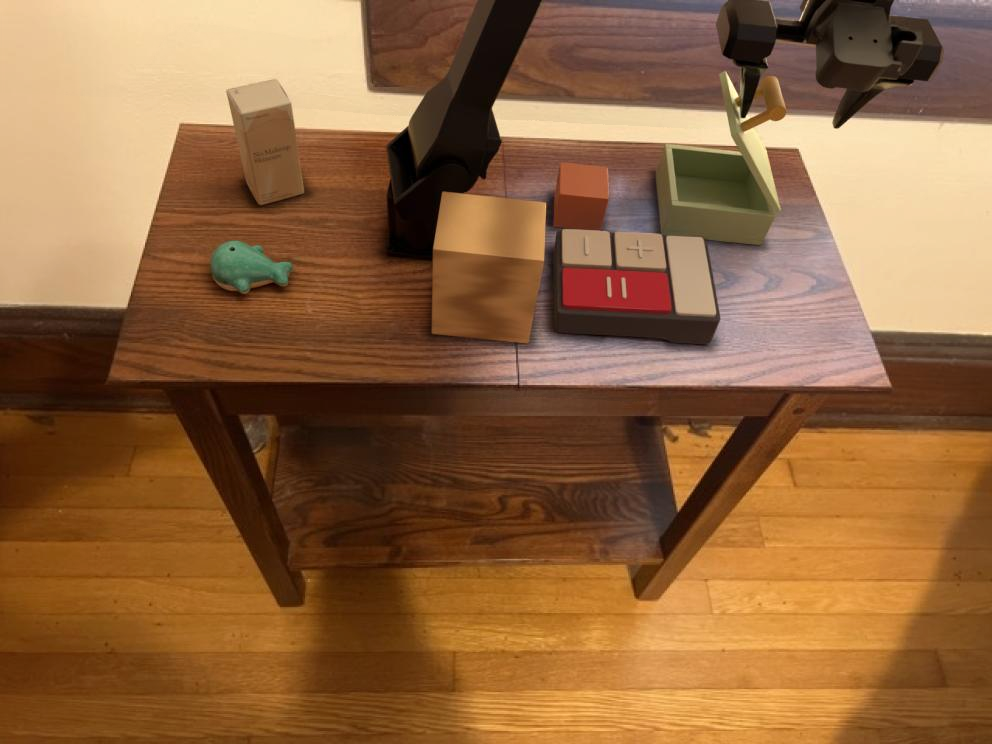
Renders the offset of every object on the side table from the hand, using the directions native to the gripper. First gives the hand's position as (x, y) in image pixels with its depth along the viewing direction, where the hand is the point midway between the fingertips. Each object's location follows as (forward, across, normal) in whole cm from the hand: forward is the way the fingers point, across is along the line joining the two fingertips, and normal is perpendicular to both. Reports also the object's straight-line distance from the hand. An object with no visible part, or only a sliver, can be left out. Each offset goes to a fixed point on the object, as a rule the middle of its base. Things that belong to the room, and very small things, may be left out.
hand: (788, 121), depth 71 cm
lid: (+3, -3, 0) cm, 4 cm away
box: (+12, -51, -4) cm, 52 cm away
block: (+12, -19, -3) cm, 22 cm away
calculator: (+12, -14, -14) cm, 23 cm away
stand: (+12, -28, -18) cm, 35 cm away
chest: (+12, -4, 0) cm, 13 cm away
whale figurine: (+12, -50, -17) cm, 54 cm away
